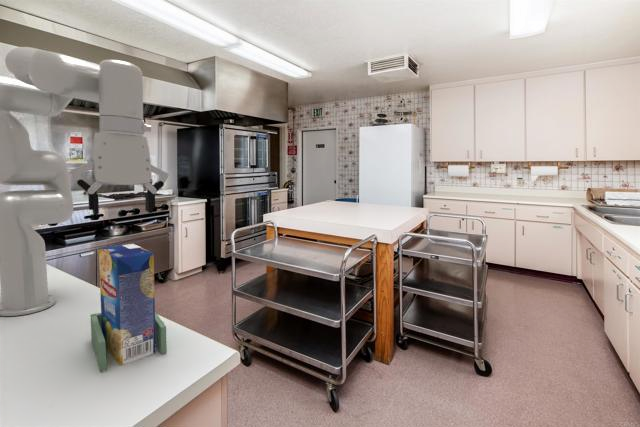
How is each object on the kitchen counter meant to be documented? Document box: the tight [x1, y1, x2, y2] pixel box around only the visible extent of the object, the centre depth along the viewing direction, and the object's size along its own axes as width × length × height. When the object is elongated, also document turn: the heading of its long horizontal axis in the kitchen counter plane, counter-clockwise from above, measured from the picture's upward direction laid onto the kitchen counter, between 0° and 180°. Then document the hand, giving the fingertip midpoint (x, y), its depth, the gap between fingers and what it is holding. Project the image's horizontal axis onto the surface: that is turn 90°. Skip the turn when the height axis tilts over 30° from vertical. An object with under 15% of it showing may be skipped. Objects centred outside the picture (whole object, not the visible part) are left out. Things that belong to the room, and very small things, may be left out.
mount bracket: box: [90, 311, 168, 373], centre depth 74 cm, size 15×12×6 cm
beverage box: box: [98, 243, 157, 366], centre depth 72 cm, size 7×11×22 cm, turn 49°
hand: (123, 212), depth 70 cm, fingers open, 9 cm apart
